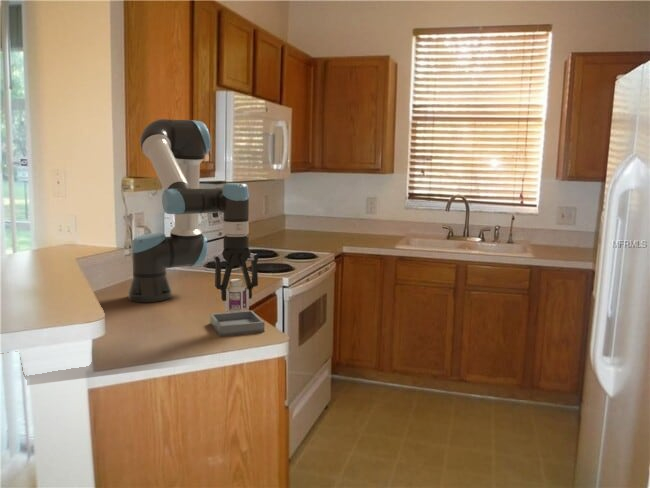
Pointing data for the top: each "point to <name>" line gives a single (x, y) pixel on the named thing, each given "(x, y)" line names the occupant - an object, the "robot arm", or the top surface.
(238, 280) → the pill bottle
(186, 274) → the top surface
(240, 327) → the bin
